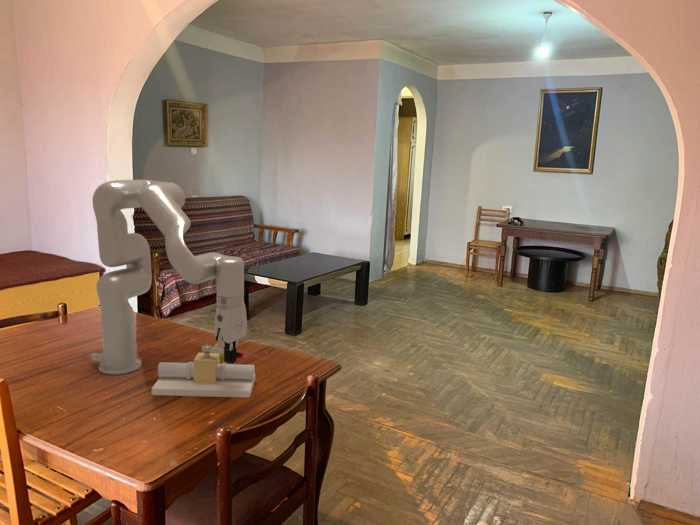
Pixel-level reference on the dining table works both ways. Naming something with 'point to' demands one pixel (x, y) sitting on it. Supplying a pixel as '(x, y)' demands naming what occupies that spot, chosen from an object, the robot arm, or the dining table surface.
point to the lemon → (220, 355)
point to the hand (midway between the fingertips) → (230, 361)
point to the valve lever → (208, 348)
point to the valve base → (203, 388)
